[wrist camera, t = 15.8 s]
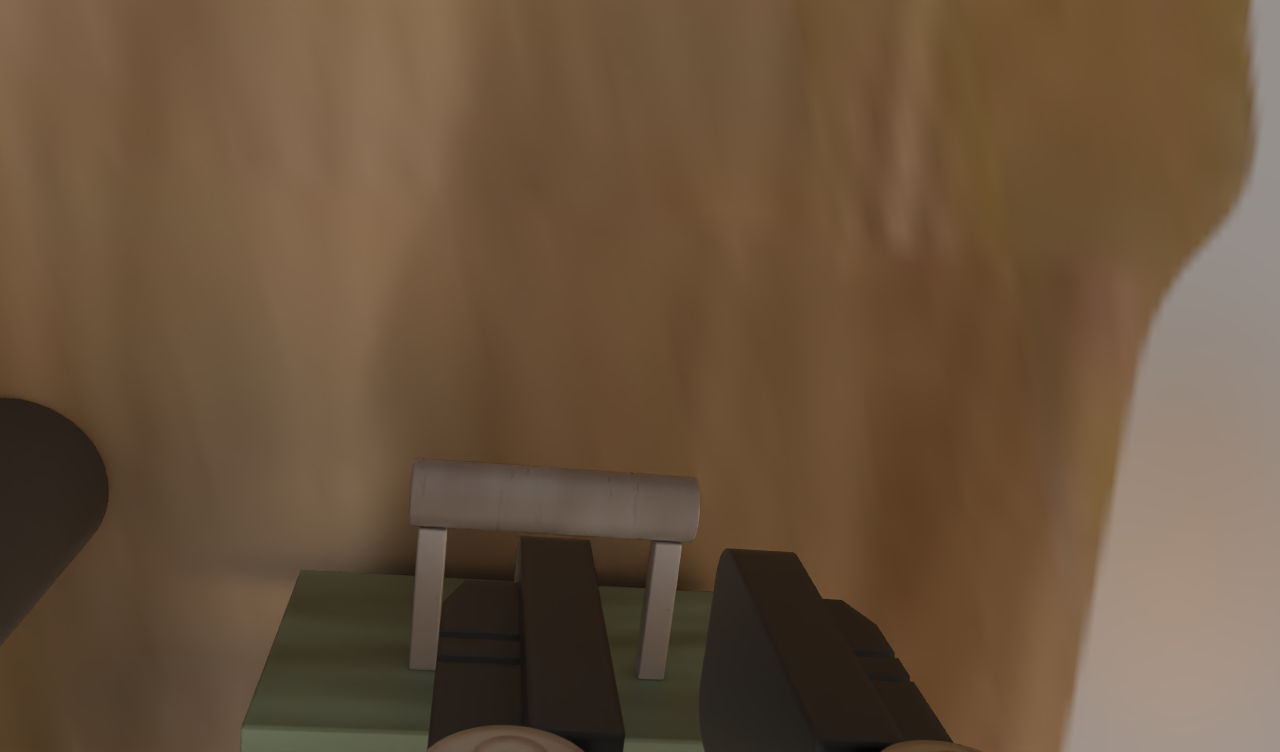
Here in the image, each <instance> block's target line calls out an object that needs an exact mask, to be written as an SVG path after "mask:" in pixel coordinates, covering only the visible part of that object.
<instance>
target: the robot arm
mask: <svg viewBox="0 0 1280 752" xmlns="http://www.w3.org/2000/svg"><path fill="white" fill-rule="evenodd" d="M909 678H910V676H909V674H908V673H907V671H906V670H905V668H904V666H903V665H902V663H901V662H900V660H899V659H898V658H894V651H893V650H892V648H891V647H890V645H889V644H888V642H887V641H886V639H885V637H884V636H883V634H882V633H881V631H880V630H879V628H878V627H877V625H876V624H874V623H873V622H872V621H870V620H869V619H867V618H866V617H865V616H863V615H862V614H860V613H859V612H858V611H856V610H855V609H854V608H852V607H851V606H849V605H848V604H847V603H845V602H844V601H842V600H832V599H822V597H821V596H820V594H819V592H818V590H817V589H816V587H815V585H814V584H813V582H812V580H811V579H810V577H809V575H808V573H807V572H806V570H805V568H804V567H803V565H802V563H801V562H800V560H799V558H798V557H797V555H796V554H795V553H793V552H779V551H762V550H745V549H729V548H727V549H725V550H724V551H723V553H722V555H721V557H720V560H719V563H718V568H717V573H716V579H715V586H714V593H713V599H712V606H711V613H710V620H709V626H708V633H707V640H706V647H705V653H704V660H703V667H702V674H701V681H700V691H699V725H700V734H701V740H702V744H703V748H704V751H705V752H981V751H979V750H976V749H973V748H970V747H967V746H963V745H960V744H955V743H953V741H952V740H951V738H950V737H949V735H948V734H947V732H946V731H945V729H944V728H943V726H942V725H941V723H940V721H939V720H938V718H937V717H936V715H935V714H934V712H933V711H932V709H931V708H930V706H929V705H928V703H927V702H926V700H925V699H924V697H923V696H922V694H921V692H920V691H919V689H918V688H917V686H916V685H915V683H914V682H910V679H909ZM624 741H625V728H624V723H623V717H622V712H621V706H620V701H619V696H618V690H617V685H616V679H615V674H614V669H613V663H612V658H611V652H610V647H609V642H608V636H607V631H606V625H605V620H604V615H603V609H602V604H601V598H600V593H599V588H598V582H597V577H596V571H595V566H594V561H593V555H592V550H591V544H590V541H589V540H580V539H563V538H546V537H529V536H520V537H519V542H518V549H517V557H516V567H515V577H514V582H499V581H480V580H465V581H464V582H463V583H462V584H461V585H460V586H459V587H458V588H457V589H456V590H455V591H454V592H453V593H452V594H451V595H450V596H449V597H448V598H447V599H446V600H445V601H444V602H442V609H441V619H440V628H439V638H438V648H437V659H436V668H435V678H434V687H433V697H432V707H431V717H430V727H429V736H428V746H427V751H426V752H623V748H624Z"/></svg>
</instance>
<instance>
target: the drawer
mask: <svg viewBox="0 0 1280 752" xmlns="http://www.w3.org/2000/svg"><path fill="white" fill-rule="evenodd" d="M699 518H700V488H699V484H698V480H697V479H696V478H695V477H684V476H670V475H655V474H641V473H626V472H612V471H597V470H583V469H568V468H554V467H539V466H525V465H510V464H496V463H481V462H467V461H452V460H437V459H423V458H416V459H415V460H414V463H413V469H412V478H411V488H410V500H409V518H408V521H409V525H411V526H419V528H418V539H417V553H416V567H415V576H408V575H389V574H371V573H352V572H334V571H315V570H301V571H300V573H299V576H298V579H297V581H296V584H295V587H294V589H293V592H292V594H291V597H290V600H289V602H288V605H287V608H286V610H285V613H284V616H283V618H282V621H281V623H280V626H279V629H278V631H277V634H276V637H275V639H274V642H273V645H272V647H271V650H270V653H269V655H268V658H267V660H266V663H265V666H264V668H263V671H262V674H261V676H260V679H259V682H258V684H257V687H256V689H255V692H254V695H253V697H252V700H251V703H250V705H249V708H248V711H247V713H246V716H245V719H244V721H243V724H242V726H241V751H240V752H426V751H427V746H428V736H429V727H430V717H431V707H432V697H433V687H434V678H435V668H436V659H437V648H438V638H439V628H440V619H441V609H442V602H444V601H445V600H446V599H447V598H448V597H449V596H450V595H451V594H452V593H453V592H454V591H455V590H456V589H457V588H458V587H459V586H460V585H461V584H462V583H463V582H464V581H465V580H480V581H499V582H514V581H501V580H482V579H464V578H445V577H444V571H445V558H446V545H447V533H448V528H460V529H476V530H493V531H510V532H526V533H543V534H559V535H576V536H593V537H609V538H626V539H642V540H651V545H650V552H649V560H648V568H647V575H646V583H645V588H631V587H612V586H598V588H599V593H600V598H601V604H602V609H603V615H604V620H605V625H606V631H607V636H608V642H609V647H610V652H611V658H612V663H613V669H614V674H615V679H616V685H617V690H618V696H619V701H620V706H621V712H622V717H623V723H624V728H625V741H624V748H623V752H705V751H704V748H703V744H702V740H701V734H700V725H699V691H700V681H701V674H702V667H703V660H704V653H705V647H706V640H707V633H708V626H709V620H710V613H711V606H712V599H713V593H714V592H705V591H687V590H676V587H677V580H678V572H679V565H680V558H681V551H682V544H681V542H692V541H693V540H694V539H695V536H696V534H697V530H698V525H699Z"/></svg>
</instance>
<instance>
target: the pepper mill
mask: <svg viewBox="0 0 1280 752" xmlns="http://www.w3.org/2000/svg"><path fill="white" fill-rule="evenodd" d="M107 502H108V479H107V475H106V471H105V467H104V465H103V462H102V459H101V457H100V455H99V453H98V451H97V450H96V448H95V446H94V445H93V443H92V442H91V441H90V439H89V438H88V437H87V436H86V435H85V434H84V433H83V431H82V430H81V429H80V428H78V427H77V426H76V425H75V424H74V423H72V422H71V421H70V420H68V419H67V418H65V417H64V416H62V415H61V414H59V413H57V412H55V411H53V410H51V409H49V408H46V407H44V406H41V405H38V404H35V403H31V402H27V401H22V400H15V399H0V646H1V645H2V644H3V642H4V641H5V640H6V639H7V638H8V636H9V635H10V634H11V633H12V632H13V630H14V629H15V628H16V627H17V626H18V624H19V623H20V622H21V621H22V620H23V618H24V617H25V616H26V615H27V614H28V612H29V611H30V610H31V609H32V608H33V606H34V605H35V604H36V603H37V602H38V600H39V599H40V598H41V597H42V596H43V594H44V593H45V592H46V591H47V590H48V588H49V587H50V586H51V585H52V584H53V582H54V581H55V580H56V579H57V578H58V576H59V575H60V574H61V573H62V572H63V570H64V569H65V568H66V567H67V566H68V564H69V563H70V562H71V561H72V560H73V558H74V557H75V556H76V555H77V554H78V552H79V551H80V550H81V549H82V548H83V546H84V545H85V544H86V543H87V542H88V540H89V539H90V538H91V537H92V535H93V534H94V533H95V532H96V530H97V528H98V527H99V525H100V523H101V522H102V519H103V516H104V514H105V511H106V507H107Z"/></svg>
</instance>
